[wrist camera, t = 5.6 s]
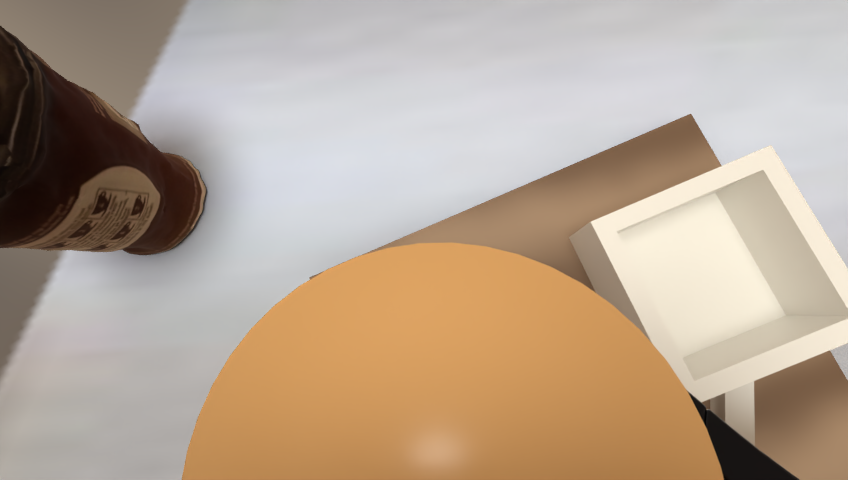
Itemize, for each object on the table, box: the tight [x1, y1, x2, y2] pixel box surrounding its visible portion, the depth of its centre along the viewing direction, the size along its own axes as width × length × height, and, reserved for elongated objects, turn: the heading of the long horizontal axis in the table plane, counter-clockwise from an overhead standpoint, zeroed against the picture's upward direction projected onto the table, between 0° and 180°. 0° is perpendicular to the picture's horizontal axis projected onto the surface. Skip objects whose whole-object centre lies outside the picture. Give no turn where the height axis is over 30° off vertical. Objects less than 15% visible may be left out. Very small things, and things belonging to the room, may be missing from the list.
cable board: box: [310, 114, 848, 480], centre depth 20 cm, size 26×22×4 cm
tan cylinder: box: [182, 243, 724, 480], centre depth 10 cm, size 4×4×12 cm
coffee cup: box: [0, 26, 206, 255], centre depth 19 cm, size 9×8×13 cm
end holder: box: [569, 145, 848, 402], centre depth 19 cm, size 8×8×4 cm
